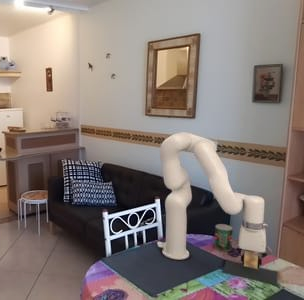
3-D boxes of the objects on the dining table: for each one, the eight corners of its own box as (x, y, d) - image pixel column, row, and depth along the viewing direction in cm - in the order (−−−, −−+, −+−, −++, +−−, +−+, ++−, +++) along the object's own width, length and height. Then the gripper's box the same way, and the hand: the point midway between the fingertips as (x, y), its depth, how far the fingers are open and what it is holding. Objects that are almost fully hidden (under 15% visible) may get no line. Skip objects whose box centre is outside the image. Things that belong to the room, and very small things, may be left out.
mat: (222, 272, 140) (222, 271, 140) (226, 260, 150) (226, 260, 150) (277, 285, 129) (277, 284, 129) (276, 271, 139) (277, 271, 139)
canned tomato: (234, 250, 159) (235, 230, 157) (218, 251, 159) (219, 230, 157) (226, 243, 167) (227, 223, 165) (211, 244, 167) (212, 224, 165)
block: (243, 266, 138) (244, 255, 137) (244, 261, 142) (245, 250, 141) (257, 269, 135) (257, 257, 135) (257, 263, 139) (258, 253, 139)
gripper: (276, 225, 135) (274, 265, 137) (231, 218, 144) (230, 256, 146) (276, 231, 128) (274, 273, 131) (229, 224, 138) (228, 263, 140)
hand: (250, 264), depth 139 cm, fingers closed on block, 5 cm apart
